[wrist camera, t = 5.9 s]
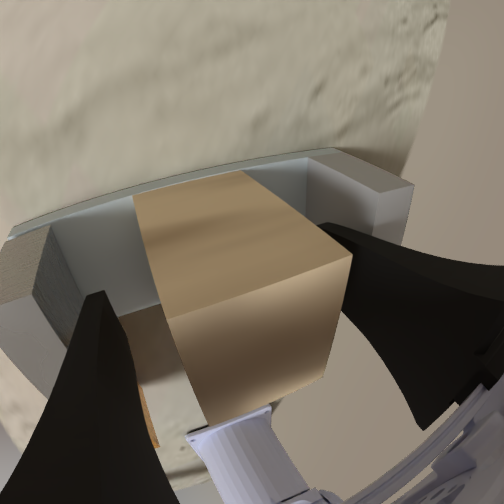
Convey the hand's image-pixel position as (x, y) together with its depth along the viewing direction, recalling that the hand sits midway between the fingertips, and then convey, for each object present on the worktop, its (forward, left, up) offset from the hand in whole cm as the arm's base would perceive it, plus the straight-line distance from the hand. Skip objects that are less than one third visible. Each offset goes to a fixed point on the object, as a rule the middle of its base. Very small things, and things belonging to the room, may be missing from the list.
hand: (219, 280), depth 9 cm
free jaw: (-3, +6, -3) cm, 7 cm away
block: (0, 0, -3) cm, 3 cm away
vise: (0, 0, -3) cm, 3 cm away
